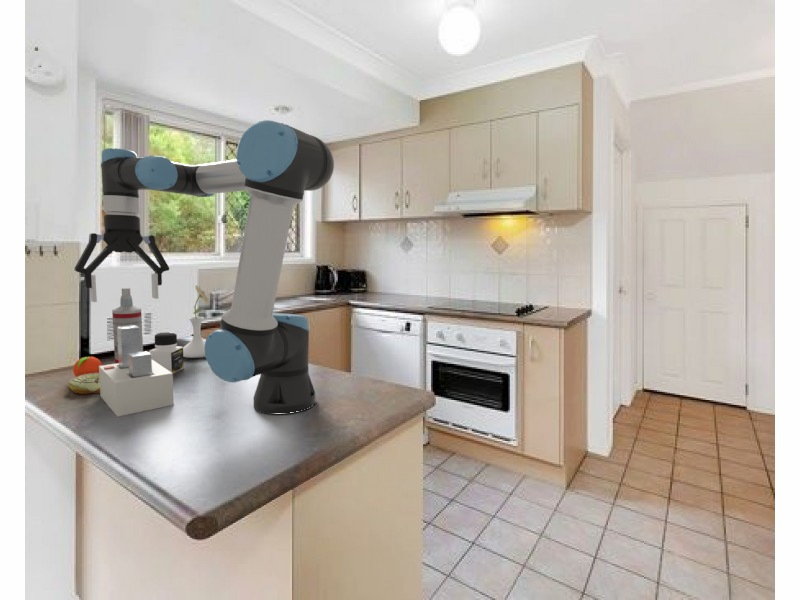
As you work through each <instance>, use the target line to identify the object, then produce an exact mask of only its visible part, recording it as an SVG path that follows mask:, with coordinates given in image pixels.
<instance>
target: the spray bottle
mask: <svg viewBox="0 0 800 600" xmlns="http://www.w3.org/2000/svg"><path fill="white" fill-rule="evenodd" d="M119 299H120V303H119V304H120V305H119V307H116V308H114V309H112V310H111V311H112V315H111V316H112V331H113V348H114V351H113V352H114V364H117V363H119V358H118V339H117V327H122V326H132V325H135V326H137V327H139V343H140V352H143V351H144V345H143V343H144V341H143V339H144V338H143V322H142V320H143V319H142V317H143V315H142V308H140V307H136V306H134V303H133V297H132V295H131V288H130V287H127V288H126V287H125V288H121V296H120V298H119Z"/></svg>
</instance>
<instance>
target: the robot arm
mask: <svg viewBox="0 0 800 600" xmlns="http://www.w3.org/2000/svg"><path fill="white" fill-rule="evenodd" d="M235 156H236V158H235V159H231V160H226V161H225V160H224V161H218V162H216V161H215V162H208V163H203V164H196V165H195V164H194V165H193V164H191V165H190V164H185V163H180V162H175V161H171V160H170V159H169V158H168V157H165V156H162V155H151V154H149V155H146V156H138V155H137V153H136V152H135V151H132V150H129V149H125V148H114V147H113V148H109V147H108V148H104V149H102V151H101V163H100V169H101V170H100V171H101V183H102V194H103V195H102V196H103V200H102V201H103V212H104V213H106V214H105V215H103V219H104V220H103V222H104V223H103V224H104V233H103V234H97V233H93V232H92V233H89V236H88V243H87V245H86V247H85V248H84V250H83V252H82V253H81V256H80V257H79V258H78V262H76V265H75V266H74V271H75V272H77V273H80V274H83V276H84V278H83V280H84V287H85V288H86V289H90V290H89V291H90V294H89V295H90V302H92V303H97V302H98V299H97V283H96V281H97V280H96V274H93V272H94V271H95V270H96V269H97V268H98V267H99V266H100V265H101V264H102V263H103V262H104V261H105V260H106V259H107V257H109V256H110V255H111V253H113V252H115V253H133V252H134V253H135V254H136V255H137V256H138V257H140V259H141V260H142V261H143V262H144V263H146V265H148V266H149V268H150V269H151V270H152V271H153V272H151V273H150V275H151V276H150V277H151V297H152V298H153V299H156V300H157V299H159V286H162V284H163V279H162V278H163V277H162V276H163V275H162V274H163V273H164V272H167V271H169V270H170V267H169V265H168V262H167V261H166V260H165V257H164V256H163V254H162V252H161V251H160V249H159V247H158V245H157V244H156V238H155V236H154V235H152V234H151V235H149V234H148V235H142V234H141V218H140V217H139V216H138V215H139V214H140V196H139V195H140V193H139V191H140V190H143V191H145V190H147V191H157V192H164V193H174V194H182V195H185V196H186V195H187V196H195V197H197V198H210V197H213V196H214V195H215V194H223V193H235V192H244V191H246V192H247V194H248V195H249V204H248V210H247V216H246V219H245V220H246V221H245V227H244V233H243V239H242V244H241V249H240V255H239V261H238V262H239V263H238V266H237V272H236V273H237V274H236V279H235V285H234V290H233V297H232V301H231V307H230V308H229V309H228V310H226V311H225V312H223V313H222V314H221V315H222V316H221V320H220V325H219V326H220V327H219V329H215V330H213V331H212V332H211V333H210V334H209V335H207V337H206V339H205V356H206V357H205V359H206V363H207V364H208V366H209V367H210V370H211V371H212V372H213V374H214V375H216V376H217V377H218V378H219V379H220V380H223V381H225V382H228V383H238V382H241V381H246V380H247V381H248V380H250V379H251V378H254V377H256V376H259V375H260V377H259V379H258V383H257V385H256V389H255V391H254V396H253V408H254V410H256V411H257V410H258V411H257V412H259V411H261V412H260V413H262V412H264V413H263V414H267V413H290V412H296V411H301V410H304V409H307V408H309V407H311V406H312V405H314V403H315V404H316V402H315V401H317V400H316V398H317V397H316V391H315V388H314V386H313V382H312V380H311V376H310V372H309V370H310V369H309V364H310V363H309V361H310V360H309V355H310V354H309V353H310V352H309V347H310V345H309V344H310V343H309V341H310V340H309V339H310V337H309V334H310V329H309V320H308V318H307V317H306V315H302V314H293V313H283V312H282V313H281V312H280V313H279V312H274V308H275V303H276V298H277V294H278V293H277V292H278V288H279V282H280V278H281V272H282V268H283V261H284V257H285V252H286V251H285V250H286V246H287V242H288V236H289V233H290V232H289V231H290V227H291V226H290V225H291V221H292V216H293V212H294V207H295V206H297V205H298V204H300V203H301V202H303V199H304V196H305V195H304V194H305V191H307V192H308V191H309V192H311V191H316V190H319V189H321V188H323V187H324V186H325V185H327V184H328V183H329V181H330V180H331V178H332V176H333V174H334V168H335V163H334V156H333V154H332V151H331V150H330V147H329V146H328V145H327V144H326V143H325V142H324V141H323V140H321V139H320V138H318V137H316V136H314V135H311V134H309V133H306V132H304V131H301V130H300V129H297V128H295V127H293V126H291V125H289V124H285V123H283V122H277V121H274V120H265V119H264V120H260V121H257V122H254V123H253V124H252V126H250V127H248V128H247V129H246V130H245V131H244V132H243V133H242V135H241V137H240V139H239V141H238V144H237V147H236V155H235ZM101 240H102V241H104V243H106V246H105V247H104V248H103V249H102V251H101V252H100V253H99V254H98V255H97V256H95V258H94V259H93V261H90V264H89V265H87V267H86V268H85V266H86V264H87V263H88V261H89V260H90V257H91V256H92V254H93V252H94V250H95V247H96V246H97V244H99V243H100V242H101ZM143 242H144V244H146V245H148V247H149V249H150V251H151V253H152V255H153V256H154V258H155V260H156V261H157V263H158V264H157V263H156V262H155V261H154V260H153V259H152V258H151V257H150V256H149V255H148V254H147V253H146V252H145V251H144V249H143V248H142V247H141V246H140V245H141V243H143ZM158 265H159V266H158ZM314 406H315V405H314ZM311 408H312V407H311ZM307 410H308V409H307Z"/></svg>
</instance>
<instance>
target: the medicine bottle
mask: <svg viewBox="0 0 800 600" xmlns="http://www.w3.org/2000/svg"><path fill="white" fill-rule="evenodd" d="M154 347H155V348H152V349H150V350H148V352H149V353H150V354H151V359H152V360H154V361H155V362H157V363H158V364H160V365H161V366H162V367H164V368H165V369H167V370H168V371H170V372H171V373H173V375H174V374H175V373H177V372H178V371H181V370H183V369H184V367H185V366H184V357H183V347H184V346H179V345H178V336H177V333H175V332H172V331H163V332H158V333H156V334H155V335H154Z"/></svg>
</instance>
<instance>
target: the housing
mask: <svg viewBox="0 0 800 600" xmlns="http://www.w3.org/2000/svg"><path fill="white" fill-rule="evenodd" d="M151 360H152V359H151ZM173 375H174V374H173V373H171V372H170V371H168V370H167V369H165V368H164V367H162V366H161V365H160V364H158V363H157V362H155V361H154V360H152V375H149V376H143V377H137V378H131V377H129V368H125V369H120V368H119V363H117V364H115V363H112V364H105V365H103V364H102V366H99V378H100V393H99V394H100V398H101V399H102V400H103V401H104V403H106V404H107V406H108V407H109V409H110V410H111V411H112V412H113V413H114V414H115V416H116V417H117V418H118V417H123V416H127V415H132V414H136V413H140V412H141V413H142V412H146V411H152V410H155V409H159V408H160V409H161V408H165V407H169V405H170V406H174V405H175V404H174V403H175V401H174V398H175V397H174V376H173Z"/></svg>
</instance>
